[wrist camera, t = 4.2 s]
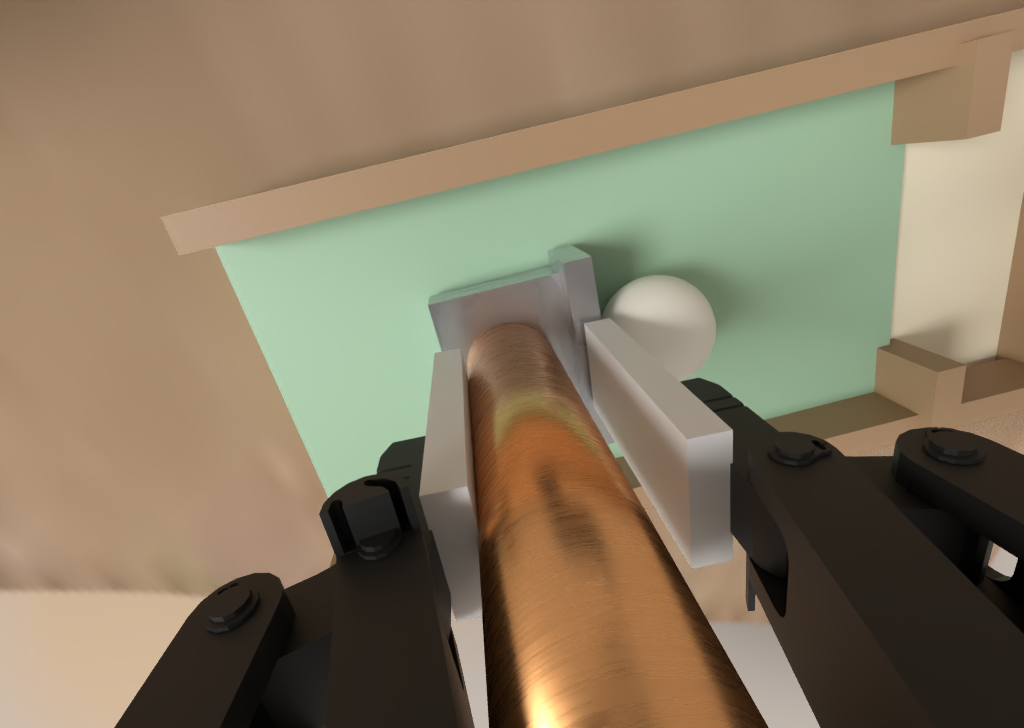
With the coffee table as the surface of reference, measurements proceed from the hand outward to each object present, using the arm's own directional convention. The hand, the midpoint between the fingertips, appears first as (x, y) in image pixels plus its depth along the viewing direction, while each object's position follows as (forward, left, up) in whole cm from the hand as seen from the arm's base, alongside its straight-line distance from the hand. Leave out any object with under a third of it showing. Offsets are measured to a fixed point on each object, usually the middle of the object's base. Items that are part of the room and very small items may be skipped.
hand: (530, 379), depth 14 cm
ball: (0, +4, -1) cm, 4 cm away
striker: (0, 0, -3) cm, 3 cm away
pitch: (0, +6, -4) cm, 7 cm away
